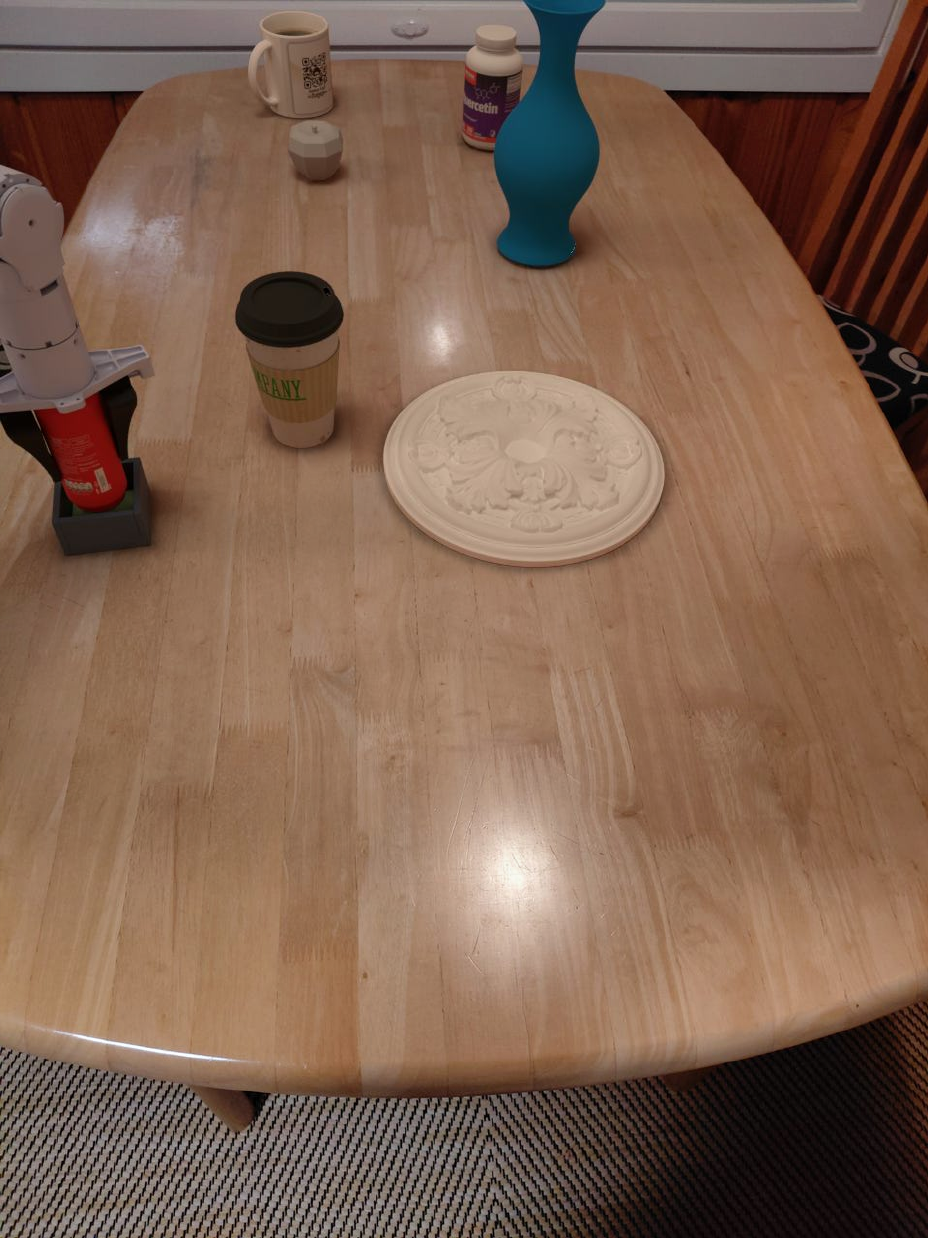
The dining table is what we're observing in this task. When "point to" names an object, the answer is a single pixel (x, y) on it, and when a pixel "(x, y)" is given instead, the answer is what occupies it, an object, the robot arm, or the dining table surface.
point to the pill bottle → (490, 84)
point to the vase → (548, 142)
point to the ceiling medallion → (523, 468)
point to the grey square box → (105, 517)
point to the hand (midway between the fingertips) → (88, 464)
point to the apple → (315, 148)
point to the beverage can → (85, 455)
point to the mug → (294, 64)
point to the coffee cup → (293, 352)
